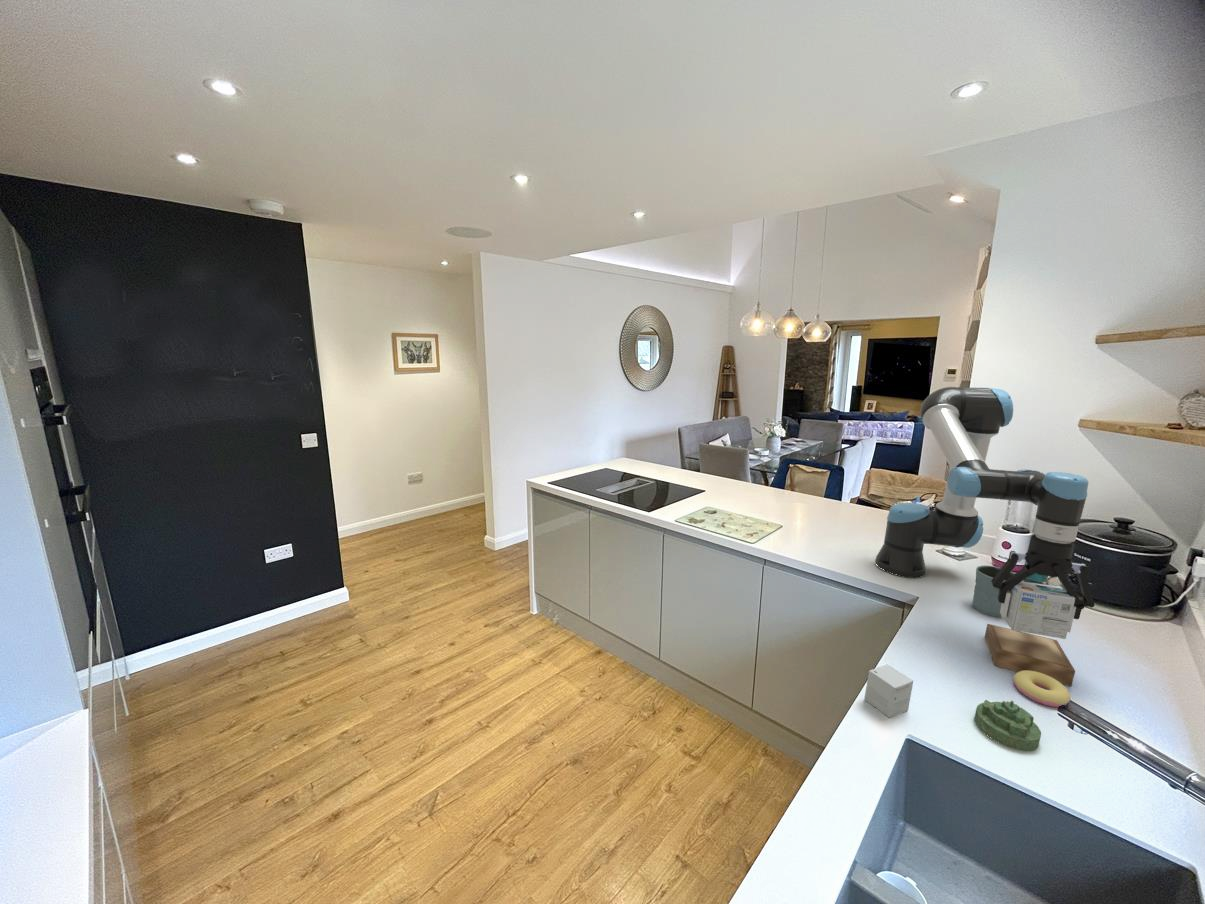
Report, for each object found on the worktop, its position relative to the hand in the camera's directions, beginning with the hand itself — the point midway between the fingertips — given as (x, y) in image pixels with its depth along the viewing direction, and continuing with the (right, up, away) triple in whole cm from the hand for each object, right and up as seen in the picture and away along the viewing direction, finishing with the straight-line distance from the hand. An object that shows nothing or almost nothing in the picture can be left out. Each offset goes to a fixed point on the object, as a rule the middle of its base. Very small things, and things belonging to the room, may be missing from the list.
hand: (1033, 622), depth 117 cm
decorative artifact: (-25, -15, -20) cm, 35 cm away
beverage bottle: (+40, -2, +44) cm, 60 cm away
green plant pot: (+10, -6, +26) cm, 28 cm away
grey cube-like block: (-45, -13, -14) cm, 49 cm away
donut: (-7, -13, -9) cm, 18 cm away
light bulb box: (0, -2, 0) cm, 2 cm away
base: (0, -10, +2) cm, 10 cm away
